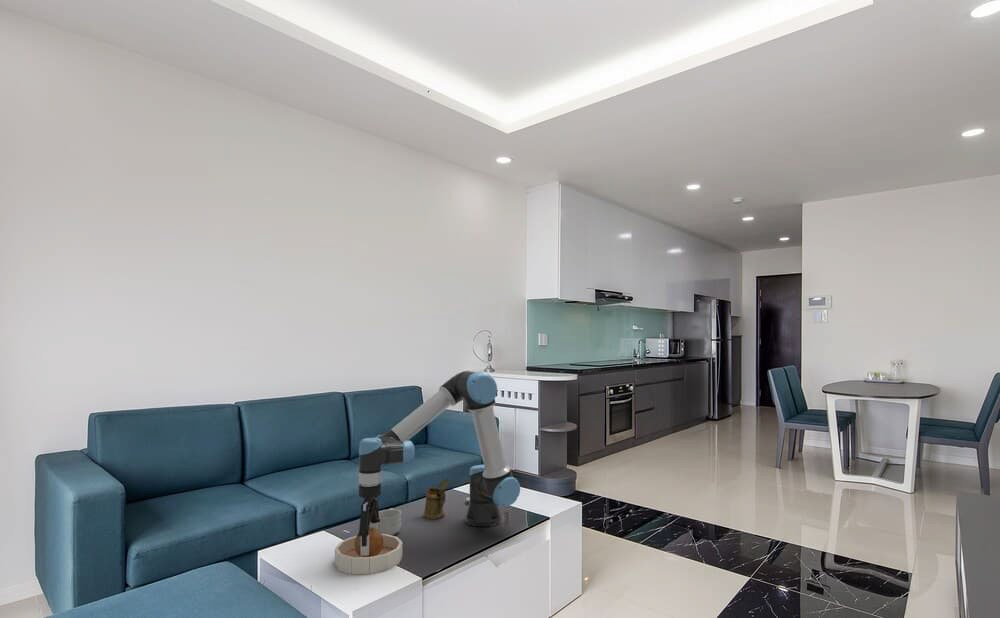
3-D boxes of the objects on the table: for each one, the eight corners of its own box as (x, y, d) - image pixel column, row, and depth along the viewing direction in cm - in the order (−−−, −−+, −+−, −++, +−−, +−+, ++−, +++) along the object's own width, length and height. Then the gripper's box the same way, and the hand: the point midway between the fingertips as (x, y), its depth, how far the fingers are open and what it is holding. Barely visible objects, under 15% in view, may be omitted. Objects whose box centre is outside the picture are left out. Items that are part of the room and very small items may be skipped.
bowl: (406, 547, 194) (406, 533, 194) (394, 574, 172) (394, 558, 172) (346, 547, 194) (346, 533, 194) (326, 574, 172) (326, 558, 172)
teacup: (394, 539, 202) (394, 518, 203) (368, 537, 204) (368, 516, 205) (408, 527, 216) (408, 507, 216) (383, 525, 218) (383, 505, 218)
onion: (385, 549, 188) (385, 521, 188) (380, 563, 178) (380, 533, 178) (357, 550, 188) (358, 522, 188) (351, 563, 178) (351, 534, 178)
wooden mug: (440, 523, 220) (440, 479, 221) (419, 516, 229) (419, 474, 230) (455, 517, 227) (456, 475, 228) (434, 511, 236) (434, 470, 237)
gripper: (367, 475, 196) (367, 535, 195) (349, 493, 173) (348, 562, 172) (388, 475, 196) (387, 535, 195) (372, 493, 173) (371, 562, 172)
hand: (369, 548), depth 183 cm, fingers open, 11 cm apart
